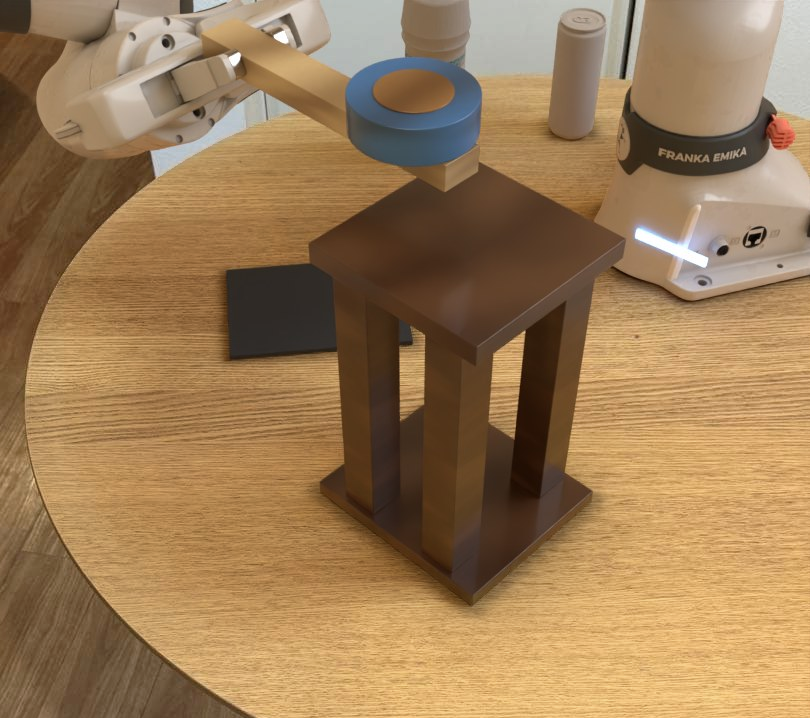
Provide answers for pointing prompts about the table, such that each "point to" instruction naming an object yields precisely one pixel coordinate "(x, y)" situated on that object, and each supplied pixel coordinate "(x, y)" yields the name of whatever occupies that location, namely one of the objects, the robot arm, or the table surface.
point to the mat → (284, 312)
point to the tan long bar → (371, 102)
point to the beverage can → (576, 72)
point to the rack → (461, 369)
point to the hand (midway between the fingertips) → (260, 52)
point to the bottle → (436, 29)
